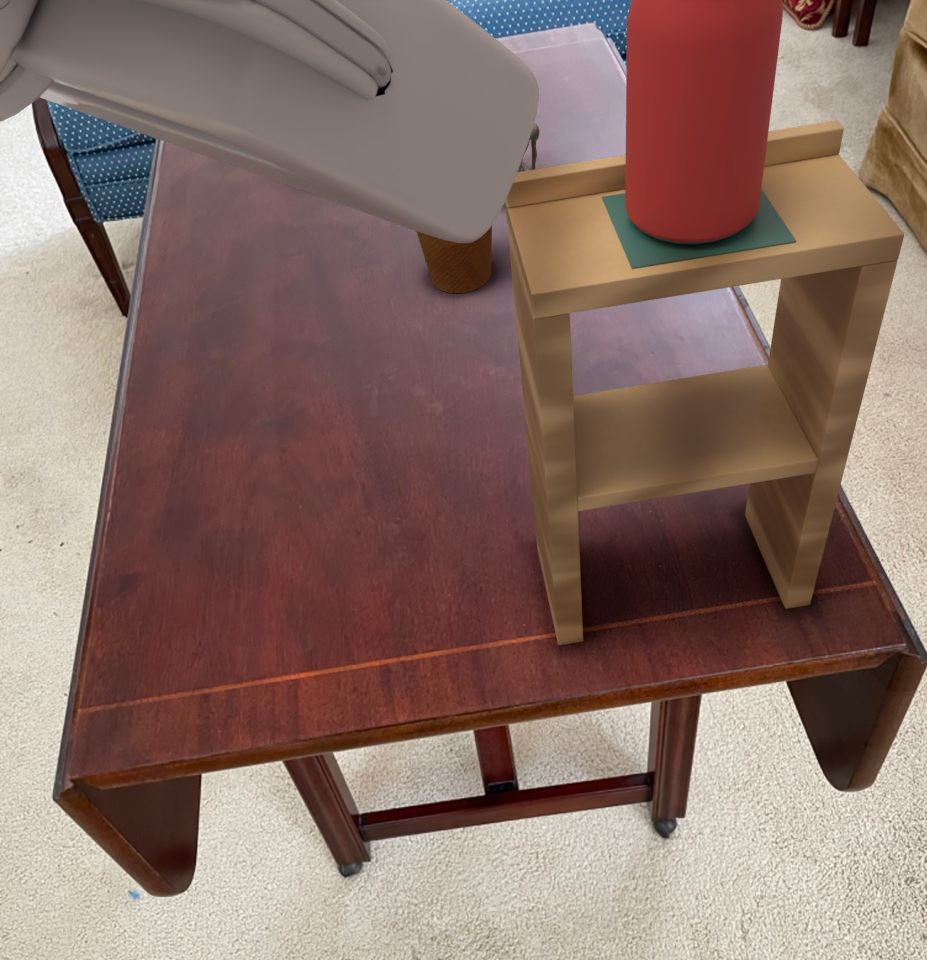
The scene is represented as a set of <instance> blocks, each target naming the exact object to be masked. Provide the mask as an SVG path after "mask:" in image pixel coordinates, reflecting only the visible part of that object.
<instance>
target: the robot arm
mask: <svg viewBox="0 0 927 960" xmlns="http://www.w3.org/2000/svg"><path fill="white" fill-rule="evenodd" d="M539 93H540V91H539V85H538V81H537V78H536V76H535V74H534V73H533V71H532V70H531V69H530V68H529V66H528V65H527V64H526V63H525V62H524V61H523V60H522V59H521V58H520V57H519V56H517V54H515V53H514V52H513V51H511V50H510V49H509V48H508V47H507V46H506V45H504V44H503V43H502V42H500V41H499V40H498V39H496V38H495V37H494V36H493V35H492V34H490V33H489V32H488V31H486V30H485V29H484V28H483V27H481V26H480V25H479V24H477V22H475V21H474V20H473V19H471V18H470V17H469V16H468V15H466V14H465V13H464V12H463V11H461V10H460V9H459V8H457V7H456V6H454V5H453V4H451V2H449V1H448V0H0V122H4V121H6V120H8V119H9V118H12V117H14V116H16V115H18V114H19V113H21V112H22V111H23V110H24V109H26V108H28V107H29V106H30V105H31V104H33V103H35V101H37V100H38V99H43V100H46V101H49V102H52V103H55V104H56V105H60V106H63V107H66V108H68V109H71V110H74V111H77V112H80V113H83V114H85V115H88V116H91V117H94V118H96V119H99V120H103V121H105V122H107V123H111V124H114V125H116V126H119V127H122V128H125V129H128V130H131V131H133V132H137V133H139V134H142V135H145V136H147V137H151V138H153V139H155V140H159V141H162V142H165V143H166V144H167V143H168V144H170V145H173V146H175V147H179V148H181V149H185V150H186V151H190V152H193V153H196V154H198V155H201V156H204V157H207V158H210V159H213V160H215V161H219V162H220V163H224V164H226V165H229V166H232V167H235V168H237V169H241V170H244V171H247V172H249V173H252V174H254V175H257V176H261V177H263V178H266V179H268V180H272V181H274V182H277V183H280V184H283V185H285V186H288V187H291V188H294V189H298V190H299V191H302V192H305V193H308V194H311V195H314V196H317V197H320V198H323V199H326V200H328V201H331V202H334V203H337V204H340V205H343V206H345V207H348V208H351V209H354V210H356V211H359V212H361V213H364V214H367V215H370V216H373V217H376V218H379V219H382V220H384V221H386V222H387V221H388V222H391V223H392V224H396V225H399V226H402V227H404V228H407V229H410V230H413V231H415V232H416V231H418V232H421V233H424V234H427V235H430V236H433V237H436V238H439V239H443V240H447V241H451V242H456V243H470V242H474V241H476V240H478V239H479V238H480V237H482V236H483V235H484V234H485V233H486V232H487V231H488V230H489V229H490V227H491V226H492V227H493V224H494V223H495V221H496V219H497V218H498V216H499V215H500V213H501V210H502V208H503V206H504V202H505V200H506V198H507V196H508V194H509V192H510V189H511V187H512V184H513V182H514V179H515V177H516V174H517V172H518V169H519V167H520V164H521V161H522V162H523V160H522V158H523V159H524V156H525V154H526V152H525V150H526V147H527V145H528V142H529V138H530V135H531V132H532V128H533V125H534V123H536V122H535V121H536V118H537V112H538V107H539V99H540V94H539ZM529 143H530V142H529ZM526 151H527V150H526ZM524 153H525V154H524Z"/></svg>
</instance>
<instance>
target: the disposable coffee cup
mask: <svg viewBox="0 0 927 960" xmlns="http://www.w3.org/2000/svg"><path fill="white" fill-rule="evenodd" d="M415 232H416V234H417V239H418V240H419V241H418V242H419V244H420V247H421V250H422V255H423V257H424V259H425V263H426V267H427V269H428V272H429V276H430V279H431V283H432V284H433V286H434V287H435V288H436V289H438V290H440V291H442V292H445V293H450V294H463V293H468V292H472V291H474V290H477V289H479V288H481V287H483V286H484V285H485V284H486V283H487V282H488V281H489V280H490V277H491V275H492V241H493V240H492V238H493V237H492V236H493V225H492V226H491V227H490V229H489V230H488V231H487V232H486V233H485V234H484V235H483V236H482V237H480V238H479V239H478V240H476V241H474V242H470V243H456V242H451V241H447V240H443V239H439V238H436V237H433V236H430V235H427V234H424V233H421V232H418V231H415Z"/></svg>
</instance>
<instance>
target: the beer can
mask: <svg viewBox="0 0 927 960" xmlns="http://www.w3.org/2000/svg"><path fill="white" fill-rule="evenodd" d="M629 5H630V6H629V9H628V15H627V19H626V65H625V66H626V69H625V70H626V73H625V75H626V76H625V77H626V78H625V79H626V80H625V81H626V82H625V96H626V97H625V155H626V172H625V208H626V211H627V213H628V216H629V219H630V221H631V222H632V223H633V224H634V225H636V226H637V227H638V228H639V229H640V230H641V231H642V232H643V233H645V234H647V235H649V236H652V237H654V238H656V239H658V240H661V241H666V242H670V243H675V244H693V245H696V244H703V243H711V242H715V241H718V240H721V239H724V238H727V237H730V236H733V235H734V234H736V233H738V232H739V231H741V230H742V229H744V228H745V227H747V226H748V225H749V224H750V222H751V221H752V220H753V218H754V217H755V215H756V214H757V213H758V211H759V204H760V196H761V188H762V180H763V172H764V164H765V155H766V147H767V139H768V131H770V123H771V114H772V104H773V100H774V99H773V97H774V91H775V90H774V89H775V84H776V83H775V82H776V75H777V66H778V57H779V50H780V49H779V48H780V41H781V34H782V27H783V17H784V16H783V14H784V3H783V0H631V2H630V4H629Z"/></svg>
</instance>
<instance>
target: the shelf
mask: <svg viewBox="0 0 927 960" xmlns="http://www.w3.org/2000/svg"><path fill="white" fill-rule="evenodd" d="M844 130H845V128H844V126H843V125H842V124H841V123H840V122H839V120H829V121H824V122H817V123H812V124H805V125H799V126H793V127H787V128H780V129H774V130H769V131H768V139H767V147H766V155H765V164H764V172H763V180H762V188H761V196H760V204H759V211H758V213H757V214H756V215H755V217H754V218H753V220H752V221H751V222H750V224H749V225H748V226H747V227H745V228H744V229H742V230H741V231H739V232H738V233H736V234H734V235H733V236H730V237H727V238H724V239H721V240H718V241H715V242H711V243H703V244H696V245H693V244H675V243H670V242H666V241H661V240H658V239H656V238H654V237H652V236H649V235H647V234H645V233H643V232H642V231H641V230H640V229H639V228H638V227H637V226H636V225H634V224H633V223H632V222H631V221H630V219H629V216H628V213H627V211H626V208H625V172H626V154H622V155H615V156H609V157H602V158H597V159H590V160H584V161H579V162H573V163H565V164H560V165H555V166H548V167H541V168H535V170H531V169H529V171H523V170H522V171H523V172H517V174H516V177H515V179H514V182H513V184H512V187H511V189H510V192H509V194H508V196H507V198H506V200H505V205H506V206H505V205H504V206H505V214H506V224H507V225H506V226H507V227H506V228H507V236H508V237H507V238H508V246H509V247H508V249H509V258H510V259H509V260H510V269H511V279H512V281H511V282H512V291H513V300H514V301H513V302H514V312H515V323H516V333H517V334H516V335H517V345H518V355H519V357H518V358H519V366H520V367H519V368H520V376H521V388H522V398H523V409H524V421H525V431H526V441H527V452H528V462H529V474H530V486H531V496H532V506H533V507H532V508H533V517H534V527H535V540H536V549H537V554H538V559H539V563H540V568H541V573H542V578H543V582H544V586H545V591H546V595H547V596H546V597H547V600H548V604H549V610H550V614H551V618H552V624H553V628H554V632H555V636H556V642H557V645H558V646H564V645H571V644H577V643H583V642H584V625H583V602H582V601H583V600H582V579H581V578H582V577H581V576H582V575H581V574H582V573H581V554H580V553H581V552H580V530H579V529H580V527H579V512H582V511H588V510H593V509H594V510H595V509H599V508H606V507H614V506H619V505H625V504H631V503H632V504H633V503H637V502H644V501H650V500H656V499H664V498H668V497H669V498H670V497H675V496H681V495H688V494H693V493H699V492H707V491H712V490H718V489H724V488H731V487H737V486H742V485H749V487H748V493H747V500H746V505H745V512H744V517H745V519H746V521H747V524H748V526H749V528H750V530H751V533H752V535H753V538H754V540H755V542H756V545H757V547H758V549H759V551H760V554H761V556H762V558H763V561H764V563H765V565H766V568H767V570H768V573H769V575H770V577H771V579H772V582H773V584H774V586H775V588H776V590H777V593H778V595H779V598H780V601H781V602H782V604H783V607H784V609H785V610H788V609H794V608H800V607H805V606H806V607H807V606H810V605H811V603H812V598H813V594H814V591H815V587H816V582H817V578H818V575H819V570H820V568H821V564H822V559H823V555H824V552H825V547H826V544H827V541H828V536H829V533H830V528H831V524H832V520H833V516H834V513H835V508H836V505H837V500H838V497H839V492H840V488H841V484H842V480H843V477H844V473H845V469H846V465H847V461H848V458H849V454H850V449H851V446H852V443H853V439H854V434H855V430H856V425H857V421H858V418H859V414H860V410H861V406H862V403H863V398H864V394H865V391H866V386H867V383H868V379H869V375H870V372H871V366H872V363H873V359H874V356H875V351H876V347H877V342H878V340H879V337H880V336H879V335H880V332H881V328H882V323H883V321H884V316H885V311H886V308H887V305H888V300H889V297H890V293H891V289H892V286H893V285H892V284H893V280H894V277H895V273H896V270H897V265H898V260H899V258H900V253H901V251H902V250H901V249H902V246H903V241H904V238H905V232H904V231H903V230H902V229H901V228H900V226H899V225H898V224H897V222H895V220H894V219H893V217H891V215H890V214H889V213H888V212H887V211H886V210H885V208H884V207H883V206H882V204H881V203H880V202H879V201H878V199H877V198H876V197H875V196H874V194H872V192H871V191H870V190H869V189H868V187H866V185H865V183H863V181H862V180H861V179H860V178H859V176H857V174H856V173H855V172H854V171H853V169H852V168H851V167H850V166H849V164H848V163H847V162H846V161H845V160H844V159H843V157H842V156H841V155H840V151H841V147H842V141H843V135H844ZM776 280H780V283H779V288H778V289H779V290H778V296H777V303H776V310H775V316H774V322H773V329H772V336H771V342H770V348H769V349H770V350H769V355H768V362H767V364H761V365H756V366H755V365H754V366H749V367H744V368H738V369H730V370H724V371H718V372H712V373H707V374H701V375H700V374H699V375H695V376H687V377H682V378H675V379H669V380H663V381H658V382H657V381H656V382H650V383H645V384H639V385H633V386H627V387H620V388H614V389H608V390H601V391H596V392H595V391H594V392H590V393H589V392H588V393H583V394H582V393H581V394H577V395H576V394H575V395H574V385H573V384H574V383H573V362H572V361H573V360H572V359H573V358H572V336H571V335H572V334H571V314H575V313H580V312H585V311H586V312H587V311H592V310H599V309H604V308H610V307H617V306H623V305H629V304H635V303H642V302H648V301H655V300H660V299H666V298H672V297H678V296H685V295H691V294H696V293H702V292H703V293H704V292H710V291H716V290H722V289H728V288H734V287H740V286H746V285H747V286H748V285H752V284H758V283H765V282H770V281H776Z"/></svg>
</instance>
